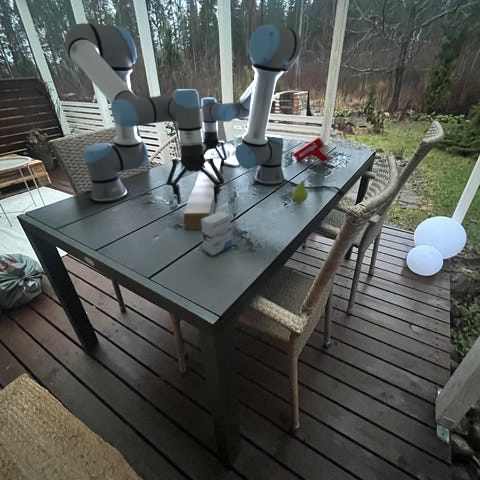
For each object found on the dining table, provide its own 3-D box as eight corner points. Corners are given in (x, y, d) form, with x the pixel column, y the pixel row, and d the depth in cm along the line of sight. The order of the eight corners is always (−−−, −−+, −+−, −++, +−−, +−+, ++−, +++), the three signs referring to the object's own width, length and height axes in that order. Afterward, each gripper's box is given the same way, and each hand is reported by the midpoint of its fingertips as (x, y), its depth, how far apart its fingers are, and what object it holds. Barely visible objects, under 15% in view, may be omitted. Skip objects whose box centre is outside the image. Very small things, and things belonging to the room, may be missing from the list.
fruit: (288, 200, 123) (290, 174, 116) (302, 197, 125) (305, 172, 119) (296, 206, 118) (299, 179, 111) (310, 203, 120) (314, 177, 114)
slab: (205, 170, 160) (205, 159, 156) (221, 170, 159) (221, 158, 156) (185, 229, 102) (183, 213, 98) (210, 229, 102) (209, 213, 98)
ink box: (222, 240, 95) (220, 209, 89) (232, 245, 92) (231, 214, 86) (203, 250, 90) (200, 218, 84) (212, 256, 87) (210, 224, 81)
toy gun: (332, 156, 168) (319, 135, 164) (331, 158, 165) (319, 137, 161) (306, 172, 178) (294, 152, 174) (305, 174, 175) (293, 154, 171)
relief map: (235, 166, 165) (235, 158, 162) (194, 157, 182) (193, 149, 179) (260, 156, 183) (260, 148, 180) (220, 148, 201) (220, 141, 198)
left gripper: (150, 146, 86) (161, 207, 97) (228, 145, 86) (231, 206, 97) (156, 141, 92) (166, 198, 104) (229, 139, 92) (231, 197, 103)
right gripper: (188, 132, 140) (193, 174, 153) (231, 131, 140) (232, 174, 152) (190, 129, 147) (194, 169, 159) (231, 129, 147) (232, 169, 159)
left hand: (197, 202), depth 100 cm, fingers open, 13 cm apart
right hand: (213, 171), depth 156 cm, fingers closed on slab, 9 cm apart
